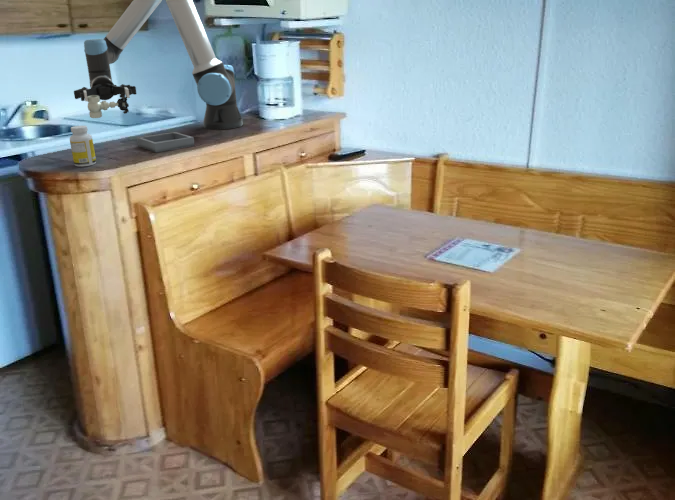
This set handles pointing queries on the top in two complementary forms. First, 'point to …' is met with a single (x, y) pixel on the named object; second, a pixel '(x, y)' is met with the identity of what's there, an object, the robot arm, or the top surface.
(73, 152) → the pill bottle
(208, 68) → the robot arm
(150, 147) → the parts tray
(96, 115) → the valve
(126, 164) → the top surface
